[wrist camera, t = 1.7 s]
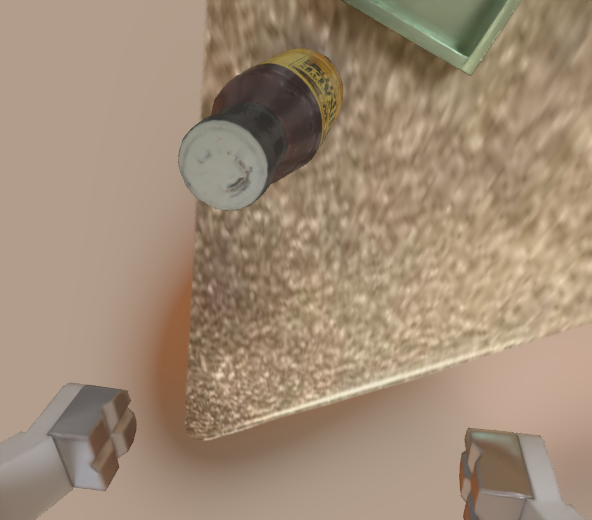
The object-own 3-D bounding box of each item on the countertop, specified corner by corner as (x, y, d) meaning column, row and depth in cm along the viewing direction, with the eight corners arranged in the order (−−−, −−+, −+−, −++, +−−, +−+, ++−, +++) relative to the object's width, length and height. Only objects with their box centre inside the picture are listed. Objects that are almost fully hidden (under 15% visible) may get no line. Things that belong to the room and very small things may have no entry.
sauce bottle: (350, 124, 39) (310, 242, 22) (273, 134, 40) (180, 252, 23) (339, 33, 36) (283, 89, 19) (256, 47, 37) (135, 112, 20)
